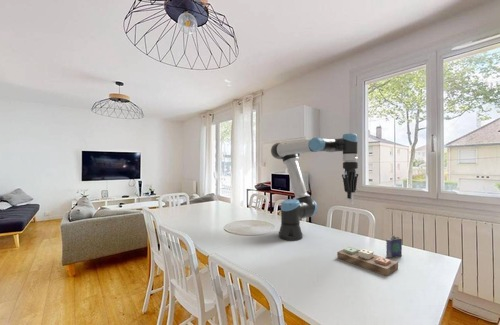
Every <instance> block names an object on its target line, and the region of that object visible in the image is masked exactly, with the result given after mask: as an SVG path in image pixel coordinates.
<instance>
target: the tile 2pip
mask: <svg viewBox="0 0 500 325" xmlns="http://www.w3.org/2000/svg"><path fill="white" fill-rule="evenodd" d="M359 250H360V249H359ZM373 254H374V251H371V250H368V249H365V248H362V249H361V250H360V251H359V257H362V258H365V259H368V260H369V259H371V258H373Z"/></svg>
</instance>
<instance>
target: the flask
mask: <svg viewBox="0 0 500 325" xmlns="http://www.w3.org/2000/svg"><path fill="white" fill-rule="evenodd" d="M402 242H403V238H401V237H400V236H399V237H398V236H396V235H395V234H391V237H390V238H386V245H385V246H386V254H385V255H386V256H385V257H386V258H387V259H393V258H398V257H399V258H400V257H402V256H403V255H402V251H403V250H402V249H403V247H402V246H403V245H402Z"/></svg>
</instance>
